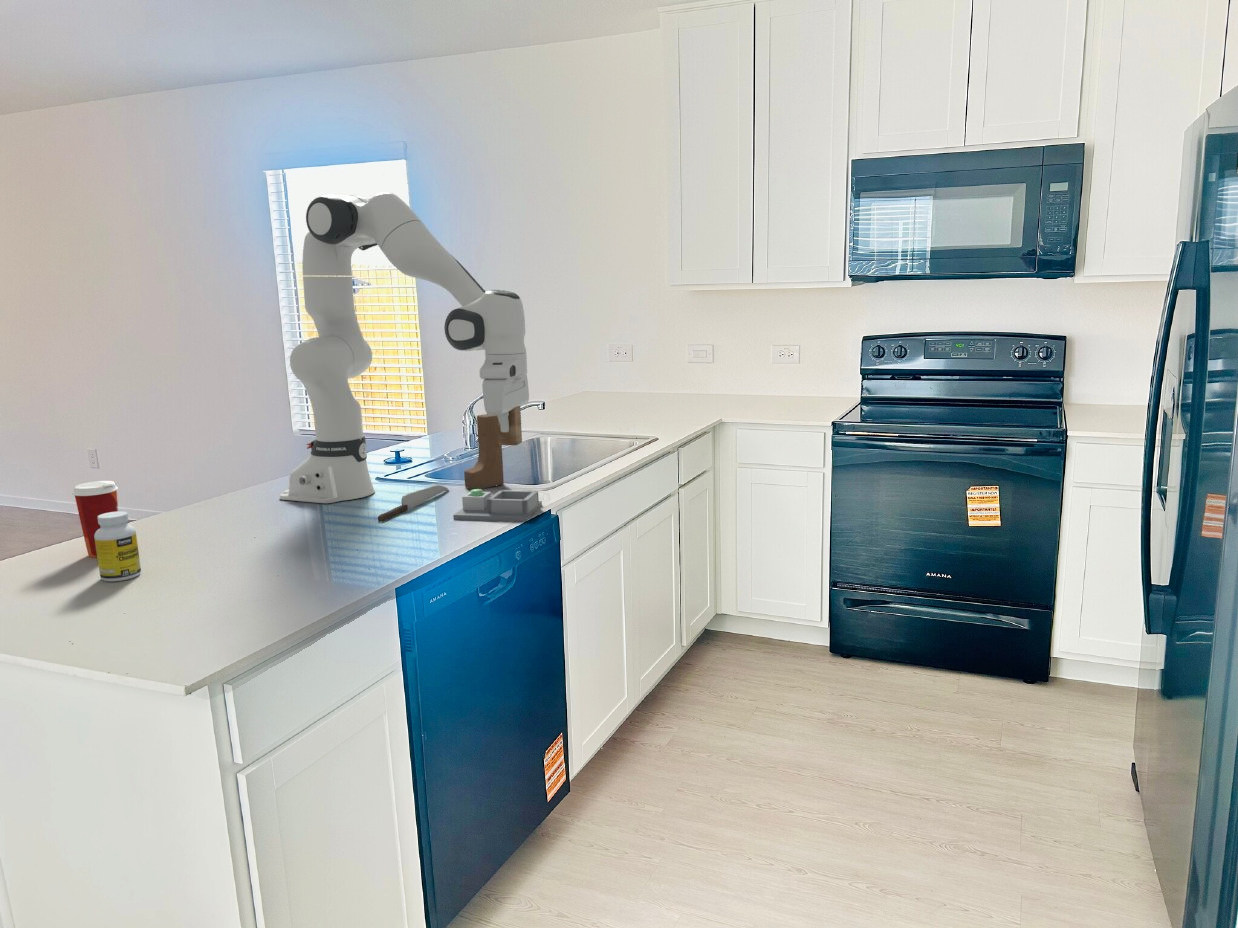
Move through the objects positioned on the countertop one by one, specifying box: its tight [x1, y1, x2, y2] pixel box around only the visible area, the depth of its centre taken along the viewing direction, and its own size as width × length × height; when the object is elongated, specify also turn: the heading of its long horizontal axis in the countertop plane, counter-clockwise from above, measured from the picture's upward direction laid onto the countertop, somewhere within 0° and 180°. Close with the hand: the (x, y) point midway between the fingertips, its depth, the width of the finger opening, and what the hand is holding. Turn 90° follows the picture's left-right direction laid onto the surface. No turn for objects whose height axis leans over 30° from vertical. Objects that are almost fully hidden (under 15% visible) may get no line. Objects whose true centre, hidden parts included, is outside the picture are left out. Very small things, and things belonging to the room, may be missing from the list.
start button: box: [470, 489, 484, 496], centre depth 196 cm, size 3×3×3 cm
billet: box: [497, 406, 523, 446], centre depth 191 cm, size 4×4×8 cm
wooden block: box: [463, 413, 505, 491], centre depth 219 cm, size 9×4×18 cm, turn 130°
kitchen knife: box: [377, 484, 450, 523], centre depth 204 cm, size 4×1×30 cm
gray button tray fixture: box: [452, 489, 543, 523], centre depth 196 cm, size 16×14×4 cm
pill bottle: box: [94, 510, 142, 583], centre depth 156 cm, size 6×6×12 cm
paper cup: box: [72, 480, 119, 559], centre depth 170 cm, size 8×8×14 cm
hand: (509, 429), depth 191 cm, fingers closed on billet, 4 cm apart
